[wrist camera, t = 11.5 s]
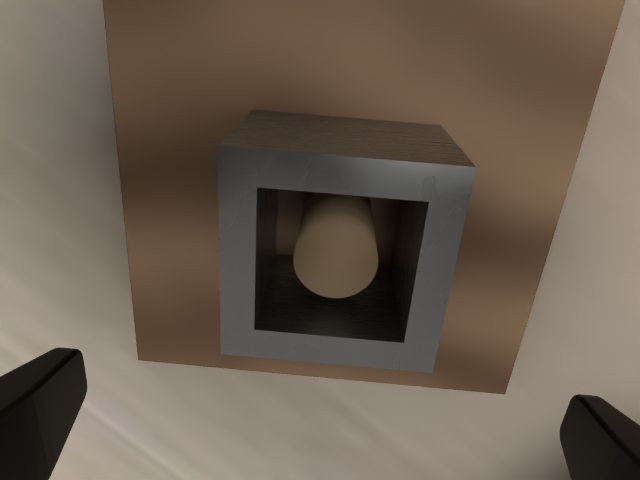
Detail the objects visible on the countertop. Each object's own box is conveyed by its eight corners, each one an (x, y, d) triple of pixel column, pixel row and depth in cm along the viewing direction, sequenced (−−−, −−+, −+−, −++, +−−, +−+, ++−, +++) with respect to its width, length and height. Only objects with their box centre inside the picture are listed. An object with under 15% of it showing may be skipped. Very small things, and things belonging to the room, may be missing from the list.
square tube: (412, 288, 19) (432, 373, 15) (249, 274, 19) (220, 354, 15) (440, 124, 17) (476, 167, 12) (252, 109, 17) (217, 145, 12)
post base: (498, 378, 22) (542, 484, 17) (146, 346, 22) (89, 441, 17) (615, -22, 15) (744, -38, 10) (110, -64, 16) (-1, -100, 11)
